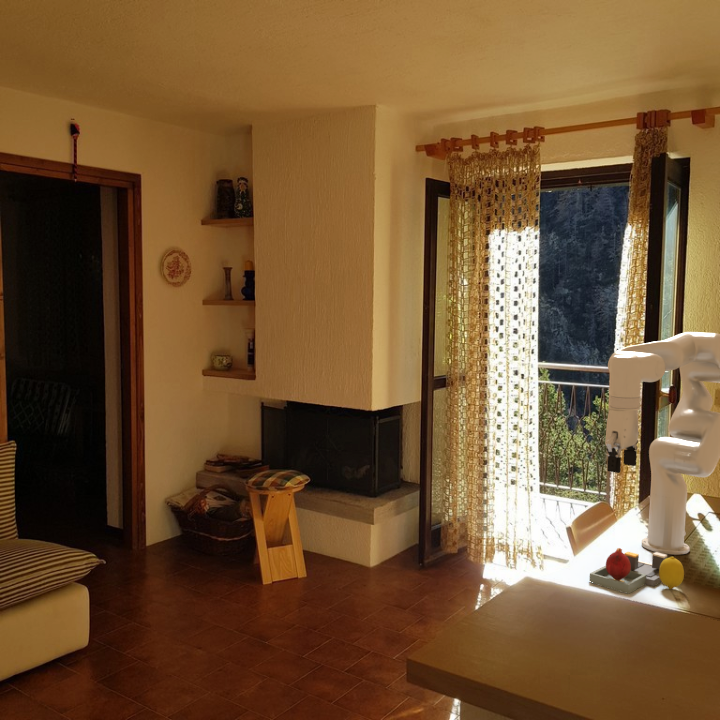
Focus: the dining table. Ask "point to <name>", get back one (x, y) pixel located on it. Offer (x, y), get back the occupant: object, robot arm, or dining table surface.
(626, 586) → the tray
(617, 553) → the onion
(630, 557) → the block
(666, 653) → the dining table surface
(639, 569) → the breaker panel
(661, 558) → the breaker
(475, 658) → the dining table surface
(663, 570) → the lemon
